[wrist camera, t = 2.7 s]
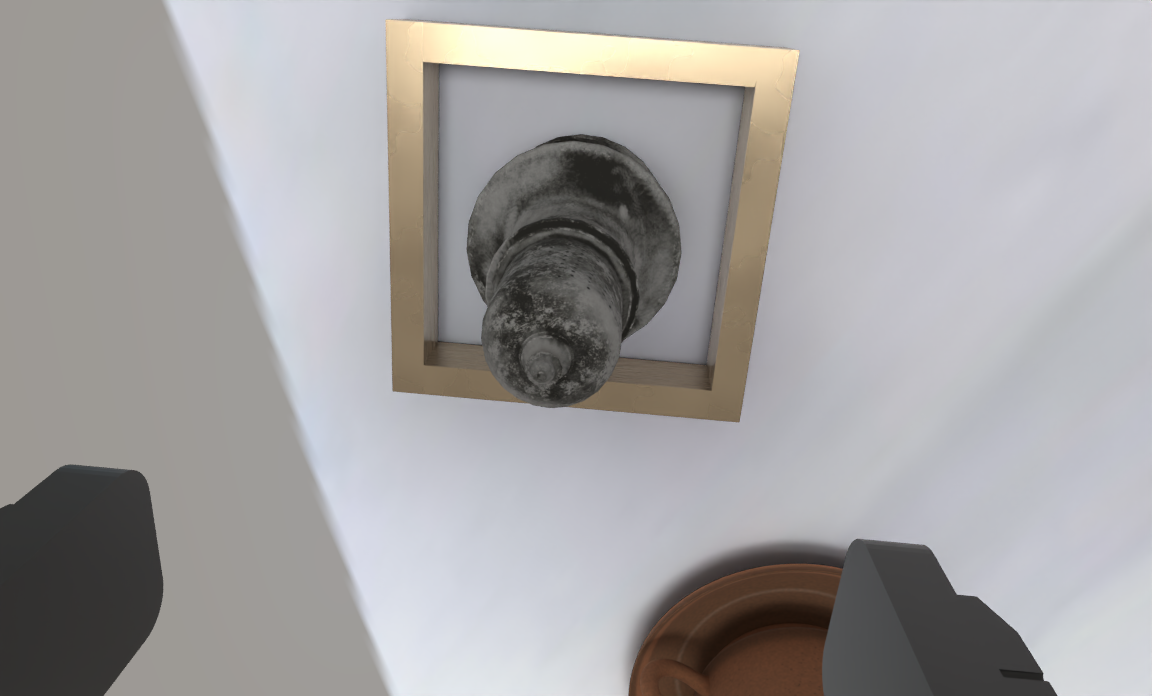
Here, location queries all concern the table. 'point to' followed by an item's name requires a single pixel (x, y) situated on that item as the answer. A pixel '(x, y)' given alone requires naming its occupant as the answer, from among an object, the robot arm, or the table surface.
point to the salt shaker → (569, 265)
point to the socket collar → (431, 42)
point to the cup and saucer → (743, 636)
